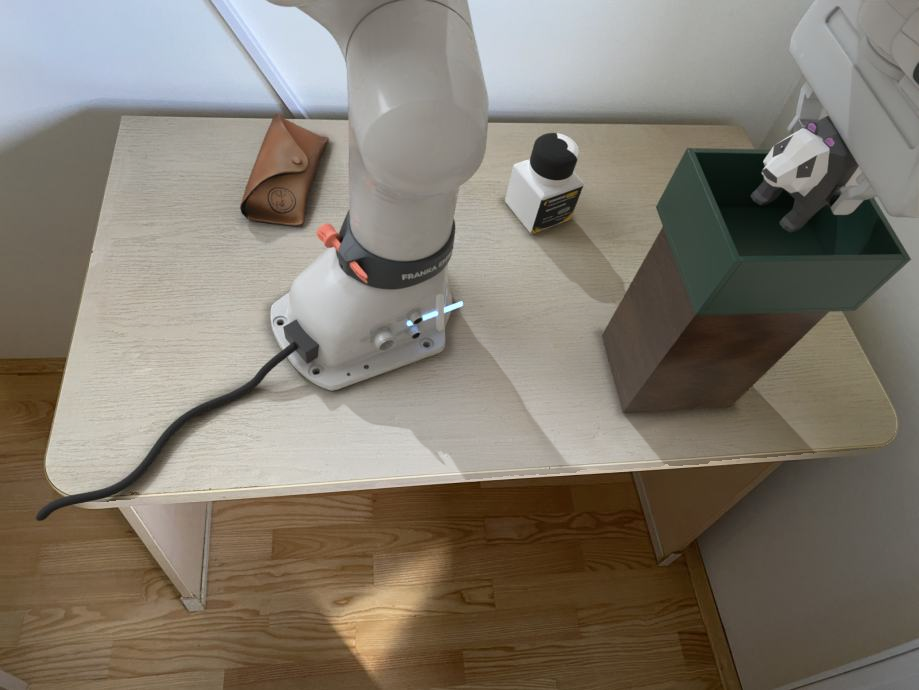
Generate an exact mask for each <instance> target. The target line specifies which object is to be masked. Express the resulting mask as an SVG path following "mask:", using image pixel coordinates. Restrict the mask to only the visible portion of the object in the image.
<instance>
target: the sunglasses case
mask: <svg viewBox="0 0 919 690" xmlns="http://www.w3.org/2000/svg"><path fill="white" fill-rule="evenodd" d="M329 140H330V138H329V137H327V136H320V135H319V134H317V133H315V132H313V131H311V130H308V129H306V128H305V127H302V126H300V125H298V124H297V123H294V122H292V121H291V120H288V119H287V118H284V117H282V116H281V114H280V113H276V114H274V115H273V117H272V119H271V122H270V124H269V127H268V128H267V131H266V133H265V135H264V138H263V140H262V143H261V145H260V148H259V150H258V153H257V156H256V159H255V162H254V163H253V166H252V169H251V172H250V174H249V178H248V181H247V183H246V186H245V189H244V193H243V197H242V199H241V203H240V206H239V209H240V213H241V214H242V216H244V218H245V219H247V220H248V221H252V222H257V223H263V224H268V225H269V224H271V225H277V226H278V225H279V226H289V227H290V226H291V227H299V226H302V225H303V224H304V223H305V219H306V211H307V204H308V201H309V200H308V199H309V195H310V192H311V189H312V186H313V182H314V178H315V176H316V173H317V169H318V167H319V164H320V161H321V158H322V155H323V153H324V152H325V149H326V147H327V146H328V143H329Z"/></svg>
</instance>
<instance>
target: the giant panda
mask: <svg viewBox="0 0 919 690" xmlns="http://www.w3.org/2000/svg"><path fill="white" fill-rule="evenodd" d="M770 150H771V151H770V152H769V154H768V155H767V156H766V158H765V159H764V161H763V163H764V165H765V168H764V169H763V170H762V175H764V180H763V182H762V183H761V184H760V186H759V187H758V188H757V189H756V190H755V191H754V192H753V193H752V194H751V198H752V199H753V201H754V202H756V203H758V204H759V205H765V204H768V203H771V202H773V201H774V200H775V199H776V198H777V197H778V196H779V195H780V194H781V192H782V191H783V190H786V191H787V192H788V193H789V194H790V195H791V196H792V197H793V198H794V199H795V200H794V205H793V209H792V210H791V211H790V212H789V213H788V214H786V215H785V216H784V217H783V219H782V220H781V221H780V222H779V223H780V225H781V226H782V228H783V229H785V230H787V231H788V232H794V231H796V230H798V229H800V228H802V227H803V226H804V225H805V224H806V223H807V221H808V220H809V219H810V218H811V217H812V216H813V215H814V214H815V213H817V212H818V211H819V210H820V209H821V208H823V207H824V206H825V205H826V206H828V207H829V205H828V203H827V201H826V198H827V197H828V196H829V195H831V193H832V191H833V189H834V188H835V187H836V186H847V187H848V186H859V185H860V184H858V183H857V181H856V178H857V177H858V176H859V175H860V174H861V172H862V171H861V169H860V167H859V166H858V164H857V162H856V161H855V159H854V157H853V156H852V154H851V152H850V151H849V149H848V147H847V146H846V144H845V143H844V141H843V139H842V138H841V136H840V134H839V133H838V131H837V129H836V128H835V126H834V124H833V123H832V121H831V120H830V118H829V116H828V115H826V116H824V117H822V118H819V120H818V121H816V122H812V121H809V122H808V124H807V125H806V126H805V127H803V128H801V129H800V130H798V131H797V132H795V133H794V134H792V135H790V134H789V135H788V136H787V137H785V138H784V139H782V140H781V141H778V142H777V143H776V144H774V145H773V146H772V148H771V149H770Z"/></svg>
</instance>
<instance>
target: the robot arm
mask: <svg viewBox="0 0 919 690" xmlns="http://www.w3.org/2000/svg"><path fill="white" fill-rule="evenodd" d="M265 2H268V3H270V4H272V5H274V6H278V7H282V8H296V9H298V10H299V11H300V12H302V13H304V14H305V15H307V16H308V17H310V18H311V19H313V21H315V22H316V23H318V24H319V25H320V26H322V27H323V28H324V29H325V30H326V31H327V32H328V33H329V34H330V35H331V36H332V38H333V40H334V41H335V42H336V44H337V46H338V48H339V50H340V52H341V55H342V57H343V59H344V62H345V68H346V87H347V89H346V90H347V92H346V93H347V123H348V124H347V125H348V126H347V127H348V207H349V208H348V210H347V213H346V215H345V217H344V219H343V221H342V224H341V227H340V230H339V232H337V230H336V229H335V227H334V226H333V224H331V223H329V222H327V223H324V224H322V225H320V226H319V227H318V229H317V230H316V234H315V235H316V237H317V238H318V239H319V241H321V242H323V245H324V247H325V248H326V249H325V250H323V252H321V254H320V255H318V256H317V257H316V258H315V259H314V260H313V261H312V262H311V263H310V264H309V265H308V266H306V268H305V269H304V270H302V271H301V272H300V274H298V275H297V276H296V277H295V278H294V280H293V281H292V283H291V285H290V289H289V292H287V293H286V294H284V295H283V296H281V298H279V299H277V300H276V301H275V302H274V303H272V305H271V307H270V327H271V330H272V334H273V336H274V339H275V341H276V342H277V344H278V346H279V348H280V349H281V351H279V352H278V353H277V354H275V355H274V356H273V357H272V358H270V359H269V360H268V361H267V362H265V363H264V364H263V366H262V367H261V368H260V369H259V370H258V371H257V372H256V374H255V375H254V376H253V377H252V378H251V379H250V380H249V381H247V382H246V383H245V384H243V385H242V386H240V387H239V388H236V389H234V390H232V391H230V392H228V393H225V394H223V395H220V396H218V397H216V398H212V399H209V400H208V401H205V402H203V403H201V404H199V405H197V406H194V407H192V408H191V409H189V410H187V411H186V412H184V413H183V414H181V415H180V416H179V417H178V418H176V419H175V420H174V421H173V422H172V423H170V425H169V426H168V427H167V428H166V429H165V430H164V431H163V433H162V434H161V435H160V436H159V437H158V439H157V440H156V442H155V443H154V444H153V446H152V447H151V448H150V450H149V451H148V453H147V455H146V456H145V457H144V458H143V460H142V461H141V463H139V464H138V466H137V467H136V468H135V469H134V470H133V471H132V472H130V473H129V474H128V475H127V476H125V477H124V478H123V479H121V480H120V481H118V482H116V483H114V484H112V485H110V486H106V487H104V488H101V489H97V490H92V491H91V490H90V491H86V492H82V493H76V494H71V495H70V494H69V495H66V496H62V497H60V498H56V499H54V500H52V501H50V502H49V503H47V504H46V505H44V506H43V507H42V508H41V509H40V510H39V511H38V512H37V514H36V516H35V520H36V521H37V522H38V521H39V522H41V521H45V520H46V519H47V518H48V517H49V516H50V515H51V514H52V513H54V512H55V511H57V510H60V509H62V508H66V507H69V506H73V505H79V504H84V503H90V502H95V501H99V500H103V499H106V498H110V497H112V496H114V495H117V494H119V493H121V492H123V491H124V490H126V489H127V488H129V487H130V486H132V485H133V484H135V483H136V482H137V481H138V480H140V478H142V476H143V475H145V474H146V472H147V471H148V470H149V469H150V467H152V465H153V464H154V462H155V461H156V460H157V458H158V457H159V455H160V454H161V452H162V451H163V450H164V448H165V447H166V445H167V444H168V442H169V441H170V440H171V438H172V437H173V436H174V435H175V434H176V433H177V432H178V431H179V430H180V429H181V428H182V427H183V426H185V425H186V424H188V423H189V422H190V421H191V420H193V419H194V418H196V417H198V416H200V415H201V414H204V413H206V412H208V411H210V410H212V409H215V408H217V407H221V406H223V405H226V404H228V403H231V402H233V401H235V400H237V399H239V398H241V397H243V396H245V395H246V394H248V393H250V392H251V391H252V390H254V389H255V388H257V387H258V386H259V385H260V384H261V383H262V382H263V380H264V379H265V377H266V376H267V375H268V374H269V373H270V372H271V371H272V370H273V369H274V368H275V367H277V366H278V365H279V364H280V363H282V362H283V361H284V360H285V359H288V361H289V362H290V364H292V366H293V367H294V368H295V369H296V370H297V371H298V372H299V373H300V374H301V376H303V377H304V378H305V379H306V380H308V381H310V382H311V383H312V384H314V385H316V386H318V387H319V388H322V389H324V390H327V391H331V392H333V391H336V390H340V389H343V388H346V387H349V386H352V385H354V384H358V383H360V382H363V381H366V380H369V379H371V378H374V377H376V376H379V375H383V374H385V373H388V372H390V371H393V370H396V369H399V368H402V367H405V366H407V365H410V364H413V363H415V362H418V361H422V360H424V359H427V358H429V357H433V356H435V355H439V354H440V353H442V352H443V351H444V350H445V347H446V326H447V324H448V321H449V319H450V316H451V313H452V311H453V310H456V309H458V308H461V307H463V306H464V303H463V301H462V300H461V301H458V302H456V303H453V294H452V290H451V288H450V284H449V283H450V282H449V272H448V271H449V263H450V260H451V258H452V255H453V251H454V247H455V246H454V245H455V238H456V237H455V236H456V221H455V214H456V207H457V200H458V196H459V190H460V187H461V186H462V185H464V184H465V183H467V182H468V181H469V180H470V179H472V177H473V176H474V175H475V174H476V173H477V171H478V170H479V169H480V167H481V166H482V163H483V161H484V158H485V154H486V148H487V140H488V130H489V129H488V128H489V95H488V90H487V85H486V81H485V76H484V75H485V74H484V71H483V66H482V61H481V57H480V52H479V51H480V50H479V47H478V42H477V40H476V35H475V30H474V25H473V21H472V15H471V11H470V10H471V9H470V6H469V1H468V0H265ZM789 54H790V55H791V57H792V59H793V60H794V63H795V64H796V66H797V67H798V68H799V71H800V72H801V73H802V75H803V77H804V78H805V82H804V84H802V87H801V88H800V92H799V96H798V97H799V98H798V101H797V107H796V111H795V114H796V115H794V117H793V119H792V120H791V122H790V123H789V125H788V126H787V129H786V130H787V132H788V134H789V136H790V135H792V134H794V133H795V132H797V131H798V130H800V129H801V128H803V127H805V126H806V125H807V124H808V122H809V121H812V122H816V121H818V120H820V117H821V114H822V112H823V110H824V111H825V113H826V114H827V115H826V116H829V118H830V120H831V121H832V123H833V124H834V126H835V128H836V129H837V131H838V133H839V134H840V136H841V138H842V139H843V141H844V143H845V144H846V146H847V147H848V149H849V151H850V152H851V154H852V156H853V157H854V159H855V161H856V162H857V164H858V166H859V167H860V169H861V171H862V172H861V174H860V175H859V176H858V177H857V178H856V181H857V183H858V184H860V185H859V186H848V187H847V186H836V187H835V188H834V189H833V191H832V193H831V195H829V196H828V197H827V198H826V201H827V203H828V205H829V207H830V209H831V210H832V212H833V214H834V215H848V214H850V213H852V212H853V211H854V210H855V209H856V208H857V207H858V206H859V205H860V204H861V203H862V202H863V200H868V199H871V198H874V199H875V198H877V199H878V200H879V202H880V203H881V205H882V208H884V209H883V210H884V211H885V212H886V213H887V215H889V216H890V217H893V218H906V219H907V218H908V219H909V218H910V219H919V0H813V2H812V4H811V5H810V6H809V8H808V9H807V11H806V12H805V14H804V15H803V16H802V18H801V19H800V21H799V23H798V24H797V25H796V27H795V28H794V30H793V32H792V34H791V37H790V43H789ZM279 324H280V325H279ZM426 346H428V347H426ZM316 372H318V373H317V374H315V373H316Z"/></svg>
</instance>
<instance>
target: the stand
mask: <svg viewBox="0 0 919 690" xmlns="http://www.w3.org/2000/svg"><path fill="white" fill-rule="evenodd" d="M828 314H829V312H798V313H762V314H725V315H695V313H694V310H693V307H692V304H691V302H690V299H689V296H688V293H687V291H686V288H685V285H684V283H683V280H682V277H681V274H680V272H679V269H678V266H677V263H676V261H675V258H674V255H673V253H672V250H671V247H670V244H669V242H668V239H667V236H666V233H665V231H664V228H663V226H662V227H661V229H660V230H659V233H658V234H657V236H656V238H655V240H654V241H653V243H652V245H651V247H650V248H649V250H648V252H647V253H646V256H645V257H644V259H643V261H642V262H641V264H640V266H639V268H638V269H637V272H636V274H635V275H634V277H633V279H632V281H631V282H630V283H629V286H628V288H627V290H626V292H624V295H623V296H622V298H621V300H620V302H619V304H618V306H617V308H615V311H614V313H613V314H612V316H611V318H610V320H609V322H608V323H607V325H606V326H605V329H604V330H603V332H602V333H601V338H602V342H603V346H604V349H605V352H606V353H605V354H606V356H607V360H608V364H609V367H610V372H611V375H612V378H613V382H614V386H615V390H616V394H617V397H618V400H619V404H620V408H621V412H622V413H623V414H629V413H646V412H667V411H684V410H703V409H704V410H705V409H721V408H731V407H733V405H735V403H736V402H738V401H739V400H740V399H741V398H742V397H743V396H744V395H745V394H746V393H747V392H748V391H749V390H750V389H751V388H752V387H753V386H754V385H755V384H756V383H757V382H758V381H759V380H760V379H761V378H763V377H764V376H765V375H766V374H767V372H769V371H770V370H771V369H772V368H773V367H774V366H775V365H776V364H777V363H778V362H779V361H780V360H781V359H782V358H783V357H784V356H785V355H786V354H787V353H788V352H789V351H790V350H791V349H793V348H794V346H796V345H797V344H798V343H799V342H800V341H801V340H802V339H803V338H804V337H805V336H806V335H807V334H808V333H809V332H810V331H811V330H812V329H813V328H814V327H815V326H816V325H817V324H818V323H819V322H821V320H823V318H825V317H826V315H828Z"/></svg>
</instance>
